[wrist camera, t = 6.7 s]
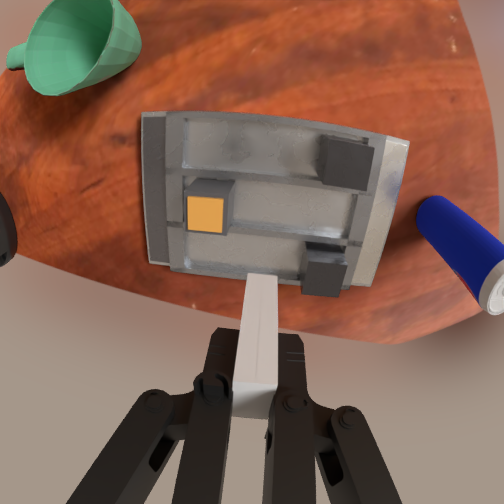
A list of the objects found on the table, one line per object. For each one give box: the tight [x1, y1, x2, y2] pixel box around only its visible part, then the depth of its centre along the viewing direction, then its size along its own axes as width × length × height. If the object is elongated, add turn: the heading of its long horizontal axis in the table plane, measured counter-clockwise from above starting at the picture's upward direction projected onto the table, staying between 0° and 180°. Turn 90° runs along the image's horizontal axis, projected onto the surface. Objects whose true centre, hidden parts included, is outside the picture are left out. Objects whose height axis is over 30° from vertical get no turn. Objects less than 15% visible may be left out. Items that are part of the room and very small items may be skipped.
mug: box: [7, 0, 142, 96], centre depth 17 cm, size 15×10×10 cm
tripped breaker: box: [184, 179, 235, 236], centre depth 26 cm, size 4×4×4 cm
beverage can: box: [416, 196, 504, 315], centre depth 21 cm, size 5×5×15 cm
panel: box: [141, 111, 410, 297], centre depth 26 cm, size 26×17×6 cm, turn 85°
